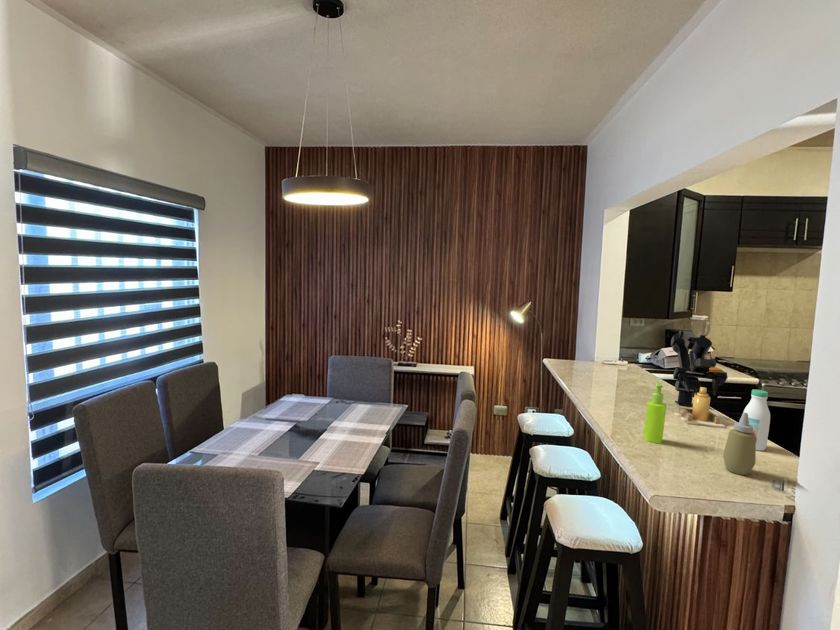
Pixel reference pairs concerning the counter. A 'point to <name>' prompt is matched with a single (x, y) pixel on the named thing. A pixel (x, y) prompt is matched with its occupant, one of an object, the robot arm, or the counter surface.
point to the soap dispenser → (655, 417)
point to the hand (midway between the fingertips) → (701, 393)
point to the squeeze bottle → (740, 447)
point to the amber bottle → (701, 405)
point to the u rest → (687, 417)
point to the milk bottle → (759, 417)
